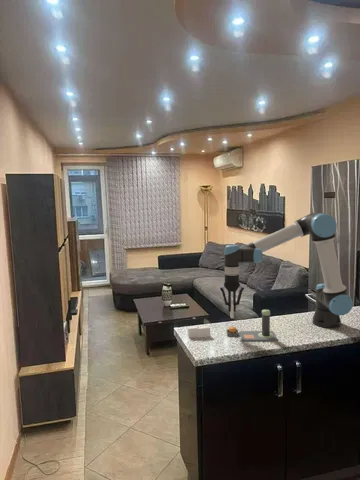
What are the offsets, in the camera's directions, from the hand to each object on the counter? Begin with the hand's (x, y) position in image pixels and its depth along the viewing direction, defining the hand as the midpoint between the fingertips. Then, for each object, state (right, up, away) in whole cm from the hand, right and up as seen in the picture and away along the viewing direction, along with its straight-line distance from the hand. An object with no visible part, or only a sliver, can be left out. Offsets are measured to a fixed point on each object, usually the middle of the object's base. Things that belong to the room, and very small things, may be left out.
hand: (232, 317), depth 189 cm
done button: (0, -9, +1) cm, 9 cm away
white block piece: (-18, -11, 0) cm, 21 cm away
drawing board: (+13, -9, -4) cm, 17 cm away
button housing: (0, -9, +1) cm, 9 cm away
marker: (+17, -8, -4) cm, 19 cm away
